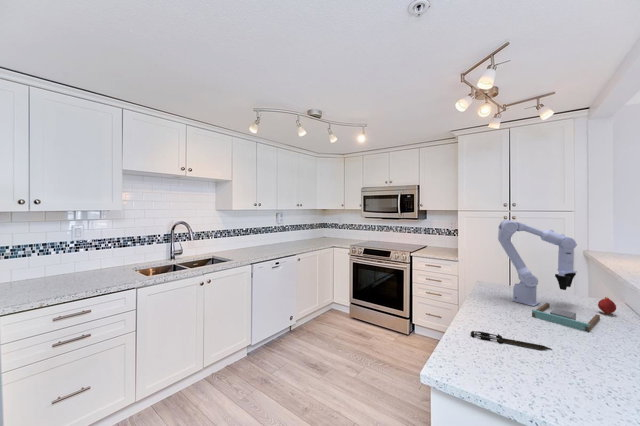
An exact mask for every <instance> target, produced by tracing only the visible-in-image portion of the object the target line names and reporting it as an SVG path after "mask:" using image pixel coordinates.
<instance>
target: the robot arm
mask: <svg viewBox="0 0 640 426" xmlns="http://www.w3.org/2000/svg"><path fill="white" fill-rule="evenodd" d="M516 232H526V233H529V234H533V235H534V236H535V235H536V236H538V237H540V239H541V240H542V241H544V242H546V243H549V244H552V245H555V246H558V251H557V252H558V258H557V259H558V260H557V272H558V274H557V273H555V274H554V277H555V278H556V280H557V283H558V287H559V290H562V291H566V290H567V288H571V286H572V283H573V280H574V278H575V276H576V275H577V273H578V270H574V268H575V267H574V266H575V263H574V261H575V252H574V251H575V249H576V247H577V246H578V245H577V244H578V243H577V242H576V240H575V239H574V238H572V237H569V236H566V234H563V233H562V234H561V233H558V232H555V230H553V229H545V230H541V229H539V228H536V227H534V226H531V225H528V224H526V223H522V222H519V221H513V220H510V219H504V220H502V221H501V222H500V224H499V225H498V233H497V235H498V236H497V239H498V240H497V241H498V242H499V245H501V247H502V248H503V250H504V252H505V254H506V255H507V257H508V258H509V260H510V261H511V264H512V265H513V266H514V268H515V270H516V273H517V275H518V279H519V283H514V285H513V289H512V292H513V293H512V302H516V303H520V304H523V305H527V306H532V307H535V306H536V305H538V304H540V302H539V301H537V289H538V288H537V287H538V284H539V279H538V277H536V276H535V275H534V274H533V273H532V272H531V271H530V269H529V268H528V267H527V265H526V262H525V261H524V260H523V259H522V257H521V255H520V254H519V252H518V250H517V249H516V247H515V246H514V244H513V242H512V241H511V239H512V237H513V235H515V233H516Z"/></svg>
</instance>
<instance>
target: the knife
mask: <svg viewBox="0 0 640 426" xmlns="http://www.w3.org/2000/svg"><path fill="white" fill-rule="evenodd" d="M477 333H478V334H480V335H478V334H477ZM470 336H471V338H475V337H479V338H480V339H479V340H481V341H487V342H491V340H495V341H496V343H498V344H499V345H501V344H509V345H514V346H520V347H525V348H529V349H534V350H540V351H543V350H551V351H553V348H550V347H548V346H545V345H543V344H537V343H532V342H526V341H522V340H521V341H520V340H517V339H511V338H510V339H509V338H504V337H502V335H501V334H499V333H497V335H496V334H493V333H489V332H484V331H474V330H472V331H470ZM490 336H494V337H495V338H493V337H490Z"/></svg>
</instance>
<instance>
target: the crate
mask: <svg viewBox="0 0 640 426" xmlns="http://www.w3.org/2000/svg"><path fill="white" fill-rule="evenodd" d="M549 314H553V315H557V316H561V317H564V318H568V319H572V320H576V321H577V313H576V312H574V311H569V310H566V309H565V310H564V309H563V308H559V307H558V308H557V307H556V308H554V309H552V310H551V311H549Z"/></svg>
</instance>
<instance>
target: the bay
mask: <svg viewBox="0 0 640 426" xmlns="http://www.w3.org/2000/svg"><path fill="white" fill-rule="evenodd" d="M550 307H551V305H550V303H549V302H545V303H544V304H542V305H540V306H539V307H538V308H536V309H532V310H531V311H532V312H531V316H532V317H533V318H536V319H540V320H543V321H547V322H552V323H555V324H558V325H561V326H566V327H569V328H573V329H576V330H579V331H584V332H587V333H589V332H591V330H592V329H593V328H594V327H595V326H596V325H597V323H598V322H600V320H601V315H600V314H597V313H596V314H595V315H594V316H592V318H591V319H590V320H589V321H588V322H584V321H580V320H577V319H576V320H572V319H568V318H564V317H561V316H557V315H553V314H550V312H549V313H548V312H545V311H547V309H549V308H550Z"/></svg>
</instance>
